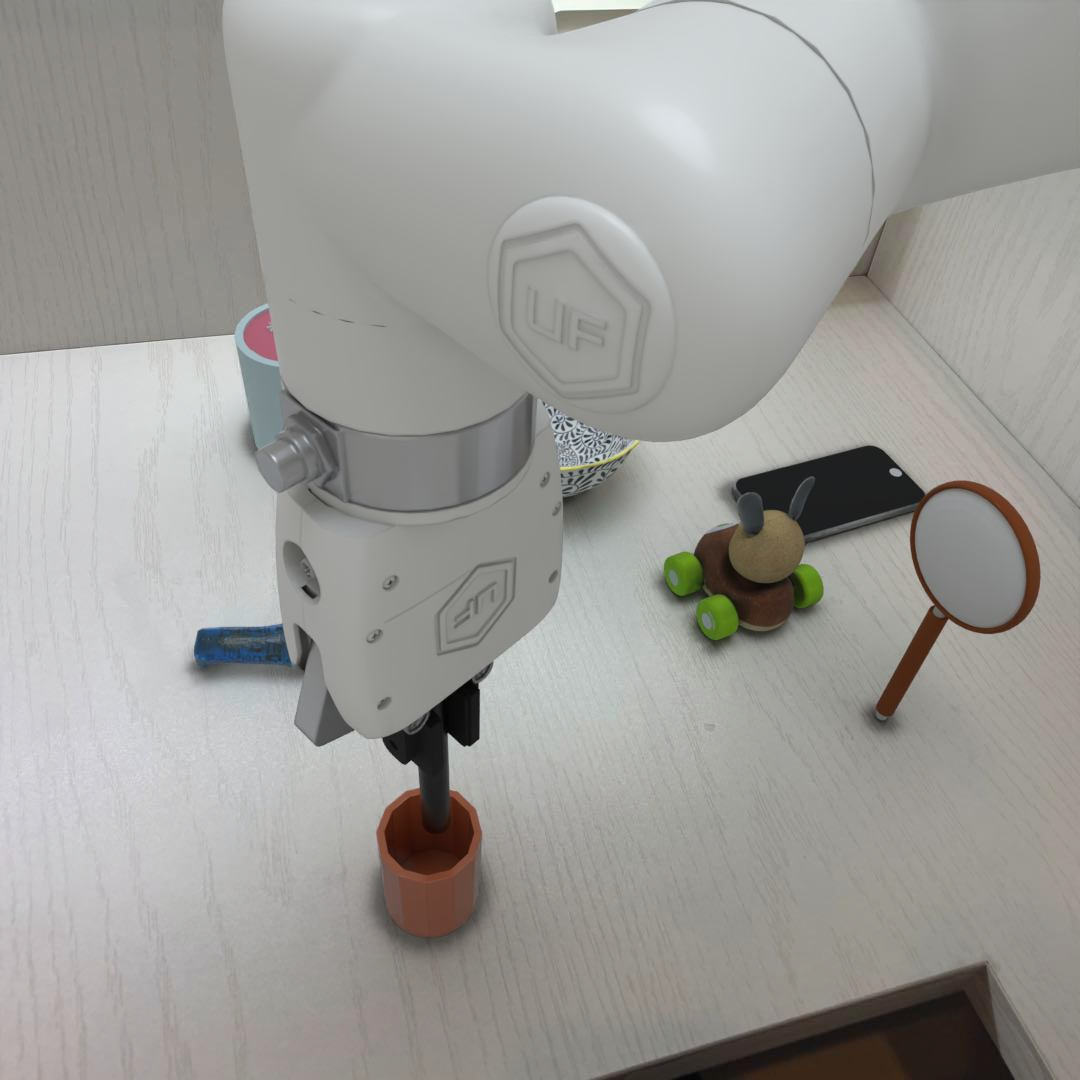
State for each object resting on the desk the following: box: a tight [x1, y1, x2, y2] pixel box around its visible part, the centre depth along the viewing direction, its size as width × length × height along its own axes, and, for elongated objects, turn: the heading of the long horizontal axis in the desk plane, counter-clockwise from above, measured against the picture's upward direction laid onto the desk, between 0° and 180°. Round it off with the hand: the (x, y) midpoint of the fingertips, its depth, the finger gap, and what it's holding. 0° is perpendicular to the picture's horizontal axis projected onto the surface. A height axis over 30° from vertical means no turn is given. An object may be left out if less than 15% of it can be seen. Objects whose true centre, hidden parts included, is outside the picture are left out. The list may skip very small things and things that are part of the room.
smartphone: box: [731, 445, 927, 543], centre depth 79 cm, size 8×1×15 cm
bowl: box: [537, 398, 641, 499], centre depth 76 cm, size 16×16×8 cm
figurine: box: [193, 623, 294, 670], centre depth 64 cm, size 5×4×15 cm
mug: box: [234, 302, 284, 450], centre depth 76 cm, size 14×9×10 cm
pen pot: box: [375, 787, 483, 938], centre depth 52 cm, size 5×5×7 cm
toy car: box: [663, 477, 825, 641], centre depth 67 cm, size 9×9×11 cm
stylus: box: [417, 697, 451, 834], centre depth 43 cm, size 1×1×13 cm
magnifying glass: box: [875, 479, 1042, 721], centre depth 57 cm, size 9×2×20 cm, turn 23°
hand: (432, 737), depth 43 cm, fingers closed on stylus, 1 cm apart
